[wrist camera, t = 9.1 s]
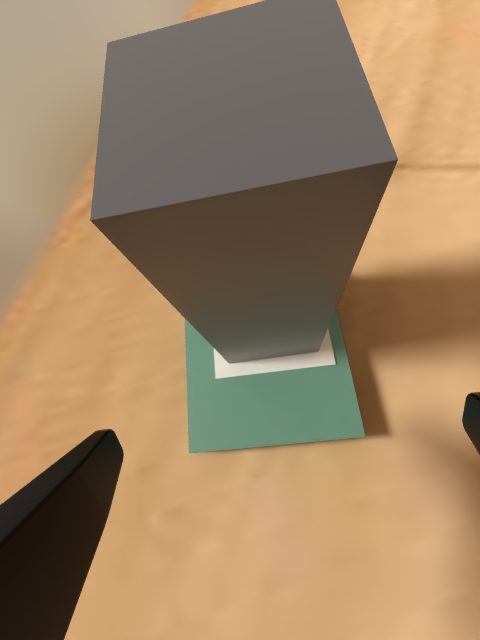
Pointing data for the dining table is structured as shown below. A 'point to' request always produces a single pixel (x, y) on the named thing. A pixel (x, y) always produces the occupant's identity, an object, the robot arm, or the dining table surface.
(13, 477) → the dining table surface
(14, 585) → the robot arm
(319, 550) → the dining table surface
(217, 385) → the header board
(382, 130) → the block
